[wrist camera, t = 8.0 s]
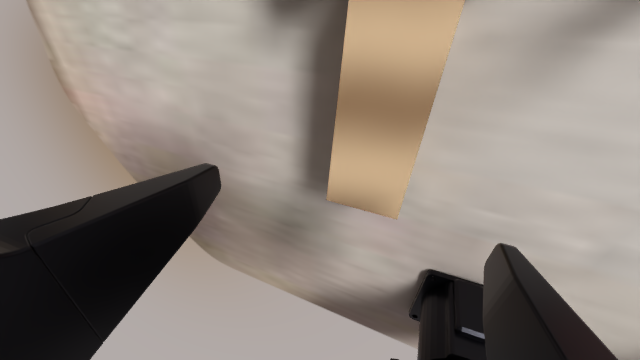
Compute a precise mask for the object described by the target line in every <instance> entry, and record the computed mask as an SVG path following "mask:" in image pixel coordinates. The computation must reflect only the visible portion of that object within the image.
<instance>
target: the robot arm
mask: <svg viewBox="0 0 640 360" xmlns="http://www.w3.org/2000/svg"><path fill="white" fill-rule="evenodd" d="M220 189H221V181H220V174H219V169H218V167H217V166H215V165H211V164H207V163H205V164H201V165H198V166H194V167H191V168H188V169H184V170H181V171H177V172H174V173H170V174H167V175H163V176H160V177H156V178H153V179H149V180H146V181H142V182H139V183H135V184H132V185H129V186H125V187H121V188H118V189H114V190H111V191H107V192H104V193H100V194H97V195H94V196H93V197H91V196H90V197H86V198H83V199H79V200H76V201H72V202H68V203H65V204H61V205H58V206H54V207H50V208H46V209H42V210H38V211H34V212H30V213H25V214H21V215H17V216H12V217H8V218H4V219H0V360H90V359H91V358H92V356H93V355H94V354H95V353H96V351H97V350H98V349H99V348H100V346H101V345H102V344H103V342H104V341H105V340H106V339H107V337H108V336H109V335H110V334H111V332H112V331H113V330H114V329H115V327H116V326H117V325H118V324H119V323H120V321H121V320H122V319H123V318H124V316H125V315H126V314H127V313H128V311H129V310H130V309H131V308H132V306H133V305H134V304H135V303H136V301H137V300H138V299H139V298H140V297H141V295H142V294H143V293H144V292H145V290H146V289H147V288H148V287H149V285H150V284H151V283H152V282H153V280H154V279H155V278H156V277H157V275H158V274H159V273H160V272H161V270H162V269H163V268H164V267H165V265H166V264H167V263H168V262H169V261H170V259H171V258H172V257H173V256H174V254H175V253H176V252H177V251H178V249H179V248H180V247H181V246H182V244H183V243H184V242H185V241H186V239H187V238H188V237H189V236H190V234H191V233H192V232H193V231H194V229H195V228H196V227H197V225H198V224H199V223H200V221H201V220H202V218H203V217H204V215H205V214H206V212H207V210H208V209H209V207H210V206H211V204H212V203H213V201H214V200H215V198H216V196H217V195H218V193H219V192H220ZM432 276H433V277H432ZM409 316H410V318H412V319H414V320H417V321H420V327H419V343H418V359H417V360H618V359H617V358H616V357H615V356H614V354H613V353H612V352H611V351H610V350H609V349H608V348H607V347H606V346H605V345H604V343H603V342H602V341H601V340H600V339H599V338H598V337H597V336H596V335H595V334H594V332H593V331H592V330H591V329H590V328H589V327H588V326H587V325H586V324H585V323H584V321H583V320H582V319H581V318H580V317H579V316H578V315H577V314H576V313H575V312H574V310H573V309H572V308H571V307H570V306H569V305H568V304H567V303H566V302H565V301H564V299H563V298H562V297H561V296H560V295H559V294H558V293H557V292H556V291H555V290H554V288H553V287H552V286H551V285H550V284H549V283H548V282H547V281H546V280H545V279H544V277H543V276H542V275H541V274H540V273H539V272H538V271H537V270H536V269H535V268H534V266H533V265H532V264H531V263H530V262H529V261H528V260H527V259H526V258H525V257H524V255H523V254H522V253H521V252H520V251H519V250H518V249H517V248H516V247H514V246H511V245H507V244H503V243H499V244H497V245H496V246H495V248H494V249H493V251H492V253H491V254H490V256H489V257H488V259H487V261H486V263H485V266H484V286H483V285H480V284H476V283H473V282H470V281H466V280H463V279H460V278H457V277H453V276H450V275H447V274H444V273H440V272H437V271H433V270H431V271H428V272H427V273H426V275H425V278H424V280H423V282H422V284H421V286H420V289H419V291H418V293H417V295H416V297H415V300H414V302H413V304H412V306H411V308H410V311H409ZM390 360H398V359H392V358H391V359H390Z"/></svg>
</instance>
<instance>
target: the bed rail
mask: <svg viewBox="0 0 640 360" xmlns="http://www.w3.org/2000/svg"><path fill="white" fill-rule="evenodd" d="M464 2H465V0H349V2H348V11H347V20H346V29H345V38H344V47H343V56H342V65H341V74H340V83H339V92H338V101H337V110H336V119H335V128H334V136H333V145H332V154H331V163H330V172H329V181H328V190H327V199H326V200H328V201H332V202H335V203H339V204H343V205H346V206H350V207H354V208H357V209H361V210H364V211H368V212H372V213H375V214H379V215H382V216H386V217H390V218H393V219H397V218H398V215H399V212H400V208H401V205H402V202H403V199H404V195H405V192H406V189H407V186H408V183H409V179H410V176H411V173H412V170H413V166H414V163H415V160H416V157H417V153H418V150H419V147H420V144H421V141H422V137H423V134H424V131H425V128H426V124H427V121H428V118H429V115H430V112H431V108H432V105H433V102H434V99H435V95H436V92H437V89H438V86H439V83H440V79H441V76H442V73H443V70H444V66H445V63H446V60H447V57H448V53H449V50H450V47H451V44H452V41H453V37H454V34H455V31H456V28H457V24H458V21H459V18H460V15H461V12H462V8H463V5H464Z"/></svg>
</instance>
